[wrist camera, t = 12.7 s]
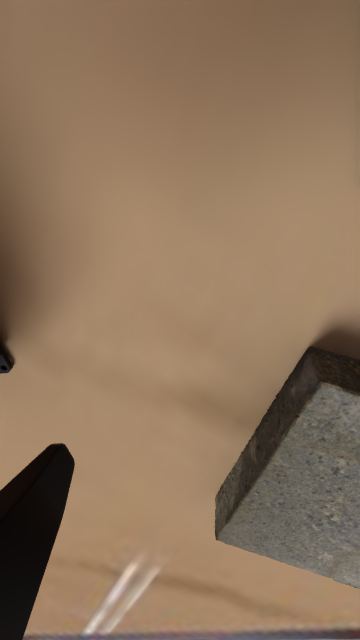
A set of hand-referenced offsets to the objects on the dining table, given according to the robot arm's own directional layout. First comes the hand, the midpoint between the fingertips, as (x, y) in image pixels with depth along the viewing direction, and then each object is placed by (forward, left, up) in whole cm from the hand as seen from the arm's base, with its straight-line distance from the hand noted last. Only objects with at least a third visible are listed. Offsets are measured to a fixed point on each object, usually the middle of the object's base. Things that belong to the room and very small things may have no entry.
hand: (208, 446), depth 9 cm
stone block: (+6, -17, -13) cm, 22 cm away
